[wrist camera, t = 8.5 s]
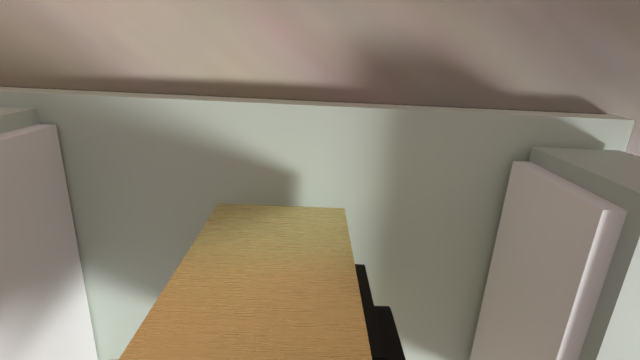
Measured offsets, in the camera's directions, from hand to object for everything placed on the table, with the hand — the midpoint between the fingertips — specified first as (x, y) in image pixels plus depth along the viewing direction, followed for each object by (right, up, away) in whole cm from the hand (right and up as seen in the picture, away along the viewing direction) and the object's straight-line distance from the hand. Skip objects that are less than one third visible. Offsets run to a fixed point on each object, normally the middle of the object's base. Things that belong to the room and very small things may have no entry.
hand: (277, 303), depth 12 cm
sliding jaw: (+9, 0, +2) cm, 10 cm away
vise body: (0, +1, +4) cm, 4 cm away
